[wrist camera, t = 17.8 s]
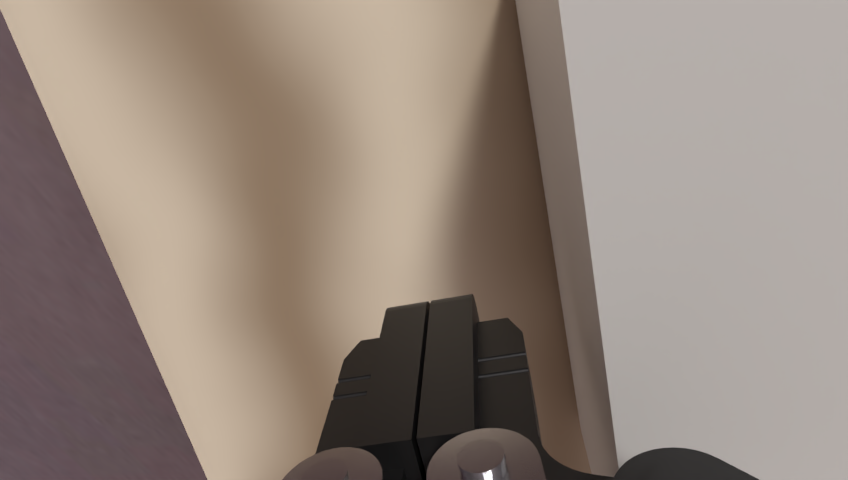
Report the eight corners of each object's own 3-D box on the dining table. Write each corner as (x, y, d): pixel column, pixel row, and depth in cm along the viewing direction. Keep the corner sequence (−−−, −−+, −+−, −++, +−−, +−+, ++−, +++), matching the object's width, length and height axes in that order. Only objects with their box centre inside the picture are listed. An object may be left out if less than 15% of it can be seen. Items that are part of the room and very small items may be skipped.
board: (247, 473, 21) (160, 680, 15) (43, -27, 15) (-230, -14, 9) (929, 383, 18) (1157, 593, 12) (994, -267, 12) (1480, -470, 6)
